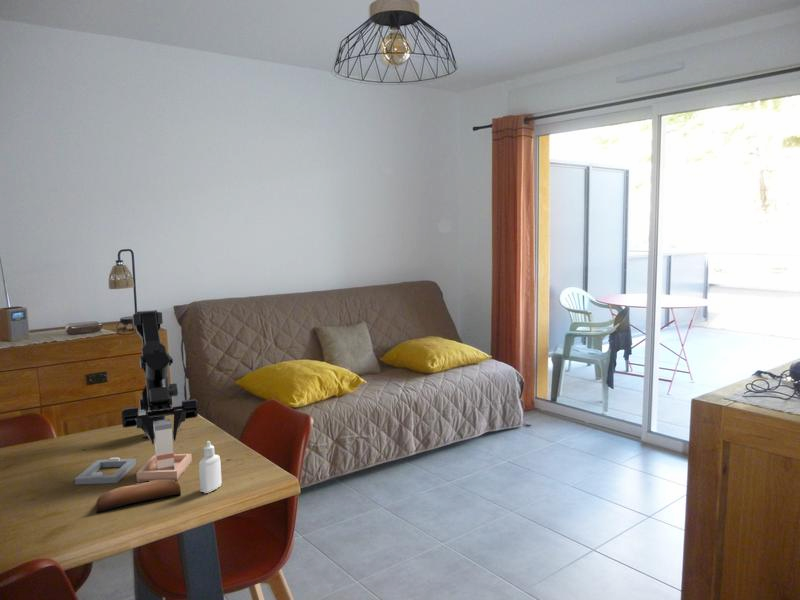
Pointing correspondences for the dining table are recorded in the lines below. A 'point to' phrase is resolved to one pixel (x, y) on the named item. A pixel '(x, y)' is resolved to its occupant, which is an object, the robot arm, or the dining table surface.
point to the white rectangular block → (163, 444)
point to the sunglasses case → (137, 493)
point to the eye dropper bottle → (209, 470)
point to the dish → (151, 472)
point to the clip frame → (97, 477)
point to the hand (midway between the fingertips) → (163, 441)
